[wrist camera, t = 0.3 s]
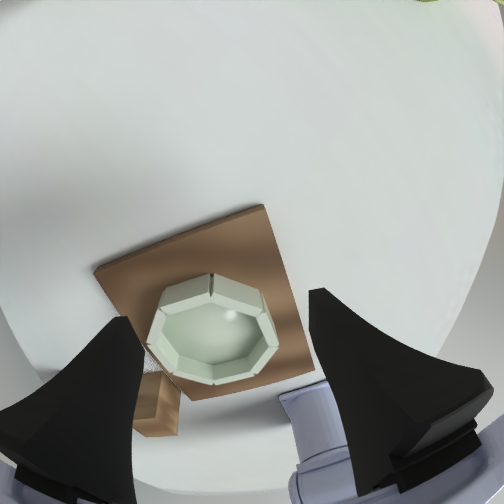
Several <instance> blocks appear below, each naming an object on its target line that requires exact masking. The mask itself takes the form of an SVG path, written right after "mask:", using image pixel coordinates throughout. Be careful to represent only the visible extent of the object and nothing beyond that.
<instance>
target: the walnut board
mask: <svg viewBox="0 0 504 504" xmlns="http://www.w3.org/2000/svg"><path fill="white" fill-rule="evenodd" d="M209 273H210V275H211V277H213V275H214V273H215V274H218V275H220V276H223V277H226V278H228V279H231V280H234V281H236V282H239V283H242V284H245V285H247V286H250V287H253V288H256V289H258V290H259V293H261V292H262V294H263V297H264V299H265V302H266V305H267V307H268V310H269V312H270V315H271V317H272V320H273V322H274V325H275V329H276V333H277V338H278V342H279V345H278V347H279V348H278V349H277V351H276V352H275V353H274V354H273V356H272V357H271V358H270V359H269V361H268V362H267V363H266V364H265V366H264V367H263V368H262V369H261V371H260V372H259V373H258V374H254V376H253V377H249V378H245V379H241V380H237V381H233V382H229V383H224V384H220V385H215V384H214V383H213V384H212V385H208V384H204V383H201V382H197V381H193V380H189V379H186V378H182V377H179V376H175V375H173V372H171V373H169V372H168V370H167V369H166V368H165V367H164V366H163V365H162V363H161V362H160V361H159V360H158V359H157V357H156V356H155V355H154V354H153V352H152V351H151V350H150V349H149V347H148V346H147V344H148V343H146V341H147V338H148V334H149V331H150V327H151V323H152V320H153V317H154V315H155V312H156V309H157V306H158V303H159V300H160V298H161V295H162V292H163V290H164V291H165V289H166V288H167V287H170V286H173V285H176V284H179V283H182V282H185V281H188V280H191V279H194V278H197V277H200V276H203V275H206V274H209ZM93 274H94V276H95V278H96V279H97V281H98V282H99V284H100V285H101V287H102V289H103V290H104V292H105V293H106V295H107V296H108V298H109V299H110V301H111V302H112V304H113V305H114V307H115V308H116V309H117V311H118V312H119V314H120V315H121V316H128V318H129V321H130V323H131V325H132V327H133V329H134V331H135V333H136V335H137V337H138V339H139V341H140V342H141V343H142V344H143V346H144V347H145V348H146V350H147V351H148V352H149V353H150V354H151V356H152V357H153V358H154V359H155V360H156V362H157V363H158V364H159V365H160V366H161V368H162V369H163V370H164V371H165V372H166V373H167V375H168V376H169V377H170V378H171V379H172V380H173V381H174V382H175V383H176V385H177V386H178V387H179V388H180V389H181V390H182V391H183V392H184V393H185V394H186V395H187V396H188V397H189V398H190V399H191V401H197V400H202V399H208V398H213V397H218V396H223V395H227V394H232V393H236V392H241V391H245V390H249V389H253V388H257V387H261V386H264V385H268V384H272V383H275V382H279V381H282V380H286V379H289V378H292V377H296V376H299V375H302V374H305V373H308V372H311V371H314V370H315V367H314V364H313V360H312V357H311V353H310V350H309V347H308V343H307V340H306V336H305V333H304V330H303V326H302V323H301V320H300V316H299V313H298V310H297V306H296V303H295V300H294V297H293V293H292V290H291V287H290V284H289V280H288V277H287V274H286V271H285V268H284V265H283V261H282V258H281V255H280V252H279V249H278V246H277V243H276V240H275V237H274V234H273V230H272V227H271V224H270V221H269V218H268V215H267V212H266V209H265V207H264V205H263V204H262V205H259V206H256V207H253V208H250V209H247V210H245V211H242V212H239V213H236V214H233V215H230V216H228V217H225V218H222V219H219V220H216V221H214V222H211V223H208V224H206V225H203V226H200V227H197V228H195V229H192V230H189V231H187V232H184V233H181V234H179V235H176V236H174V237H171V238H168V239H166V240H163V241H161V242H158V243H156V244H153V245H151V246H148V247H146V248H143V249H141V250H138V251H136V252H133V253H131V254H128V255H126V256H123V257H121V258H119V259H116V260H114V261H111V262H109V263H107V264H104V265H102V266H100V267H98V268H97V269H96V270H95V272H94V273H93Z"/></svg>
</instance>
